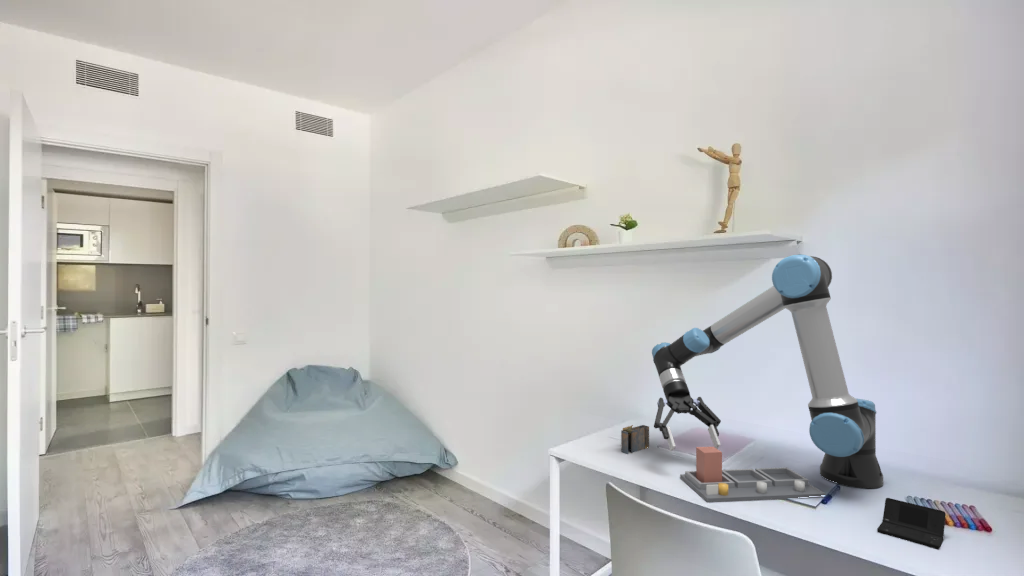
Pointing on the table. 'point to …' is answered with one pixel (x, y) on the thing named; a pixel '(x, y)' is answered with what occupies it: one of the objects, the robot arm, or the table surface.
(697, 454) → the salmon pink square prism
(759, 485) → the grey compartment tray
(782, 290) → the robot arm
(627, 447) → the dark grey upright slab
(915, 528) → the handheld gaming console
